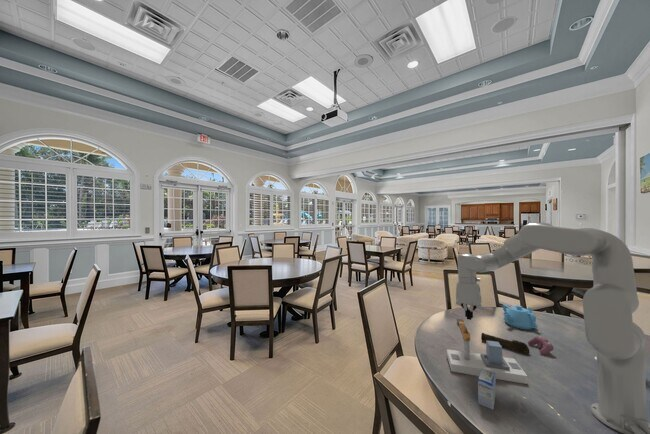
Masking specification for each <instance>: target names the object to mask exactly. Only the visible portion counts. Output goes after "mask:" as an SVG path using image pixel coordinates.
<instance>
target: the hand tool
mask: <svg viewBox="0 0 650 434" xmlns="http://www.w3.org/2000/svg"><path fill="white" fill-rule="evenodd" d="M480 338H481V341H482V342H483V341H484V342H485V343H486V340H487V341H495V342H499V344H500V345H501V346H502V347H505V348H508V349H511V350H513V351H514V352H516V353H522V354H530V348H529V346H528V345H527V344H526V343H525V342H522V341H518V340H514V339H512V340H508V339H506V338H505V339H504V338H501V337H497V336H494V335H490V334H488V333H485V332H482V333H481V334H480Z"/></svg>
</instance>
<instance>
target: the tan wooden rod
mask: <svg viewBox="0 0 650 434" xmlns="http://www.w3.org/2000/svg"><path fill="white" fill-rule="evenodd" d="M456 325H457V327H458V328H459V331H460V333H461V335H462V339H463V341H464V340H466V341H469V342H470V341H471V333H470V332H469V331H468V329H467V327H466V325H465V320H464V319H463V318H456Z"/></svg>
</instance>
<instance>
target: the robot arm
mask: <svg viewBox="0 0 650 434" xmlns="http://www.w3.org/2000/svg"><path fill="white" fill-rule="evenodd" d="M538 250H544V251H549V252H555V253H559V254H565V255H570V256H582V257H583V256H588V255H590V257H591V259H592V264H591V268H592V269H591V270H592V278H593V280H592V281H593V286H592V287H590V288H589V289H588V290H586V291H585V293H584V295H583V297H582V298H583V299H582V310H583V311H582V312H583V322H584V323H583V324H584V332H585V333H584V334H585V337H586V339H587V342H588V344H589V345H590V347H591V348H592V349H594V351H595V352H596V357H597V360H596V379H597V380H596V383H597V384H596V386H597V389H596V390H597V402H594V403H592V404H591V405H590V411H591V413H592V414H593V416H594V417H595V418H596V419H598V421H600V422H601V423H602V424H604V425H605V426H607V427H609V428H611V429H613V430H614V431H617V432H619V433H621V434H650V422H649V420H648V418H647V417H648V414H647V412H648V411H647V386H646V384H647V383H646V382H647V381H646V378H647V377H646V376H647V375H646V357H647V356H646V355H647V345H648V344H647V337H646V335H645V332H644V330H642V328H641V327H640V326H639V325H637V323H635V322H634V321H633V314H634V313H635V312H637V309H638V308H639V305H640V303H639V302H640V301H639V295H638V291H637V290H638V289H637V281H636V276H635V269H634V261H633V257H632V254H631V251H630V249H629V248H628V245H626V243H625V242H624V241H623V240H622V239H620V238H619V237H618V236H616V235H613V234H612V233H610V232H608V231H605V230H602V229H597V228H593V227H592V228H591V227H582V228H570V227H561V226H554V225H552V224H551V223H547V222H530V223H527V224H525V225H523V226H522V227H521V228H520V230H519V231H518V233H516V234H514V235H512V236H510V237H508V238H506V239H505V240H503V245H501V246H500V247H499V248H497V249H495V250H494V251H491V252H489V253H486V254H479V255H474V254H473V253H459V254H458V255H457V257H456V258H457V260H456V261H457V277H458V278H457V279H458V281H457V282H456V287H455V305H458V306H461V308H462V309H463V310H464V315H465V317H466V320H469V321H471V320H472V318H474V311H475V310H476V309H477V310H478V309H482V308H483V305H482V291H481V288H480V282H481V278H478V277H477V273H487V272H491V271H496V270H498V269H500V268H503V267H505V266H507V265H510V264H511V263H513V262H515V261H518V260H520V259H521V258H523V257H525V256H527V255H529V254H531V253H533V252H534V253H535V252H536V251H538ZM468 306H469V307H468Z"/></svg>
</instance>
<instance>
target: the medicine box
mask: <svg viewBox="0 0 650 434" xmlns="http://www.w3.org/2000/svg"><path fill="white" fill-rule="evenodd" d="M496 380H497V379H496V374H495V373H494V372H492V371H489V370H486V369H483V368H481V371H480V374H479V376H478V379H477V386H478V387H477V398H478V401H477V402H478V405H481V406H483V407H485V408H488V409H489V410H492V411H494V409H495V402H496V393H497V391H496V390H497V388H496V386H497V384H496V383H497V381H496Z"/></svg>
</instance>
